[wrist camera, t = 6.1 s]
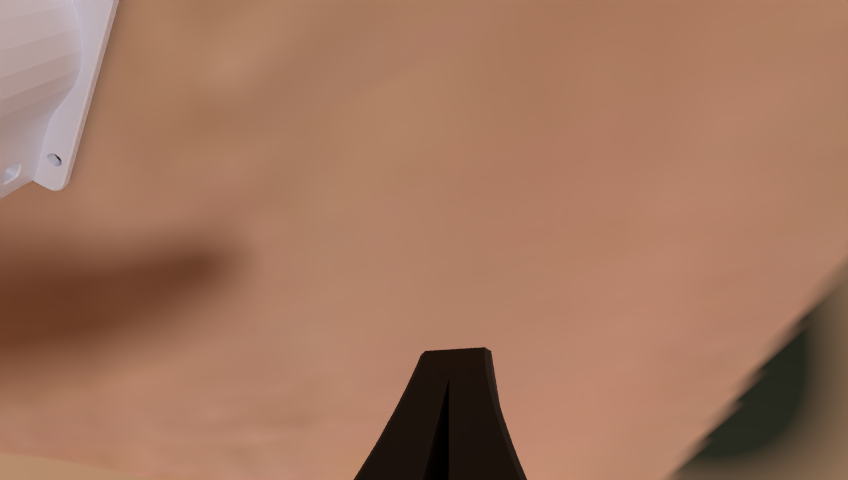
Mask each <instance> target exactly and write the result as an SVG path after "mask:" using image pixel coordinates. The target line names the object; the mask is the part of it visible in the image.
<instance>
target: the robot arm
mask: <svg viewBox="0 0 848 480" xmlns="http://www.w3.org/2000/svg"><path fill="white" fill-rule="evenodd" d="M118 3H119V0H0V199H2V198H3V197H5V196H7V195H8V194H10V193H12V192H13V191H15V190H17V189H18V188H20V187H22V186H24V185H25V184H27V183H29V182H30V181H34V182H36V183H38V184H40V185H42V186H44V187H46V188H47V189H50V190H53V191H59V190H61V189H63V188H64V187H66V186H67V184H68V183H69V179H70V176H71V172H72V169H73V165H74V161H75V158H76V154H77V151H78V147H79V143H80V140H81V136H82V133H83V129H84V125H85V122H86V118H87V115H88V111H89V107H90V104H91V100H92V97H93V93H94V89H95V86H96V82H97V79H98V75H99V71H100V68H101V64H102V61H103V57H104V53H105V50H106V46H107V43H108V39H109V35H110V32H111V28H112V25H113V21H114V17H115V14H116V10H117V6H118ZM55 154H56V155H57V156H58V157H59V158H60V159H61V161H60V160H58V159H57V158H56V156H55ZM354 480H527V479H526V476H525V474H524V471H523V469H522V467H521V464H520V462H519V459H518V457H517V454H516V451H515V449H514V446H513V444H512V441H511V438H510V435H509V432H508V429H507V426H506V423H505V420H504V418H503V414H502V411H501V408H500V403H499V397H498V391H497V385H496V379H495V373H494V366H493V360H492V354H491V351H490V350H488V349H487V348H485V347H482V348H466V349H450V350H434V351H425V352H424V353H423V354H422V355H421V356H420V358H419V361H418V363H417V366H416V368H415V370H414V372H413V374H412V377H411V379H410V381H409V383H408V385H407V387H406V389H405V391H404V393H403V395H402V397H401V399H400V401H399V403H398V405H397V407H396V409H395V411H394V412H393V414H392V416H391V418H390V420H389V421H388V423H387V425H386V427H385V429H384V431H383V432H382V434H381V436H380V438H379V440H378V441H377V443H376V445H375V446H374V448H373V450H372V451H371V453H370V455H369V456H368V458H367V459H366V461H365V463H364V464H363V466H362V467H361V469H360V471H359V472H358V474H357V475H356V477H355V479H354Z"/></svg>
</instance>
